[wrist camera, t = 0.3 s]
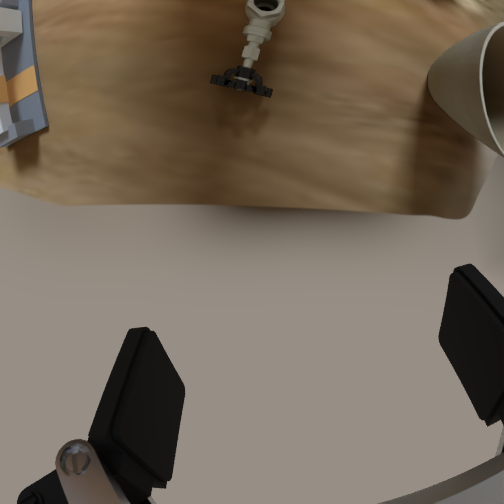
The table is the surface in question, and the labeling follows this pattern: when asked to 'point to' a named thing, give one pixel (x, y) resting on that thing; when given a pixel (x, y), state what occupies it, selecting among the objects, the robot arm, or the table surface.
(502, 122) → the plant pot
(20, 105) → the rail
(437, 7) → the table surface
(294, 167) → the table surface
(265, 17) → the valve
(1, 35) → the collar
